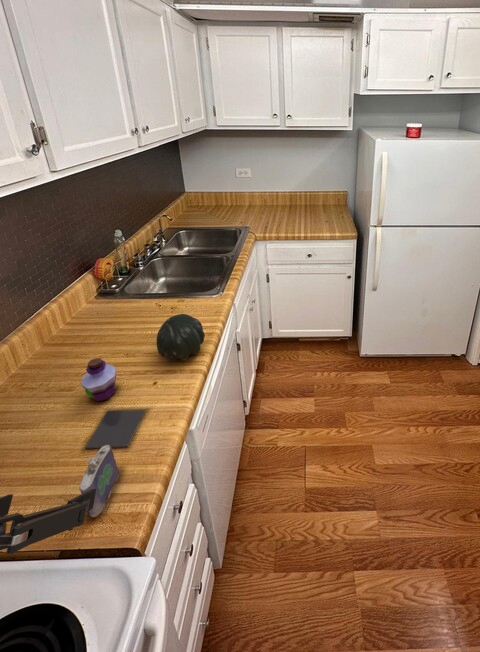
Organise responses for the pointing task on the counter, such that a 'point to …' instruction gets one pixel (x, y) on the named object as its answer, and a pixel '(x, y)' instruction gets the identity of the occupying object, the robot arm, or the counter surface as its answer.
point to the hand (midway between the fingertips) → (50, 501)
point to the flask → (100, 478)
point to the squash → (180, 337)
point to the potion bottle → (99, 380)
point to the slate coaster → (116, 429)
